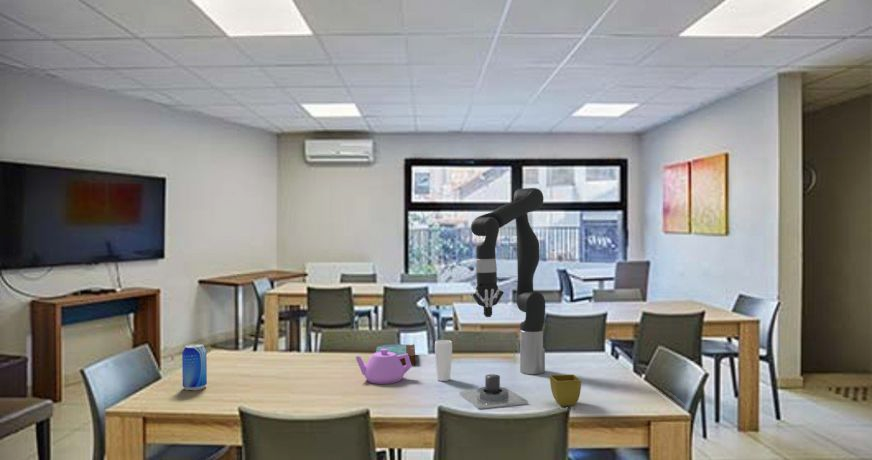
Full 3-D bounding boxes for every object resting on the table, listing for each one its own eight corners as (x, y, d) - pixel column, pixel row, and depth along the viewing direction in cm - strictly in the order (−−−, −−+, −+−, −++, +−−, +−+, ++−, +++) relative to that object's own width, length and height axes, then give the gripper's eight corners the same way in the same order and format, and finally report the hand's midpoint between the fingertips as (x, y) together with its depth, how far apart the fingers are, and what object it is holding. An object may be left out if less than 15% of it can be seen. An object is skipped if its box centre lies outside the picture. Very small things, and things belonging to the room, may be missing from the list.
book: (415, 366, 261) (415, 354, 261) (374, 367, 261) (374, 355, 260) (414, 354, 284) (414, 344, 284) (377, 355, 283) (376, 344, 283)
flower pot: (549, 400, 209) (549, 374, 209) (573, 399, 210) (573, 373, 210) (556, 408, 200) (556, 381, 200) (582, 407, 201) (582, 380, 201)
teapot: (410, 373, 247) (410, 344, 247) (413, 384, 231) (413, 352, 231) (356, 375, 244) (356, 346, 244) (355, 386, 229) (355, 354, 229)
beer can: (211, 386, 230) (211, 344, 229) (196, 392, 222) (195, 348, 222) (193, 384, 232) (193, 342, 232) (177, 390, 224) (177, 347, 224)
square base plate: (505, 389, 222) (505, 381, 222) (527, 403, 205) (527, 395, 205) (459, 394, 217) (459, 386, 217) (478, 409, 200) (478, 400, 200)
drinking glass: (450, 382, 233) (450, 343, 233) (433, 381, 234) (433, 342, 234) (453, 378, 240) (453, 340, 239) (436, 377, 241) (436, 339, 241)
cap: (496, 393, 214) (496, 373, 214) (502, 397, 209) (502, 377, 209) (483, 394, 212) (483, 375, 212) (488, 398, 208) (488, 378, 208)
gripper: (498, 268, 232) (499, 313, 232) (466, 271, 228) (467, 317, 228) (506, 270, 225) (508, 316, 225) (474, 272, 220) (475, 320, 221)
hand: (488, 316), depth 227 cm, fingers closed
